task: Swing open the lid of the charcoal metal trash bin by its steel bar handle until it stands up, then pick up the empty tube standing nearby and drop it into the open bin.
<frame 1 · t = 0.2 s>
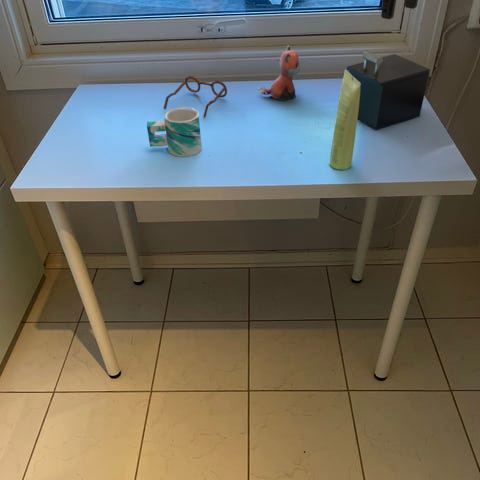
hand: (399, 12, 99), 30 cm above the table, tool pointing down, fingers open, 8 cm apart
glasses: (195, 105, 143), on the table
bin lid: (389, 60, 126), point 13 cm above the table, hinge at 0.0°
stuffed fox: (278, 96, 145), on the table
bin: (381, 114, 135), on the table
mug: (176, 149, 125), on the table
tube: (340, 166, 117), on the table
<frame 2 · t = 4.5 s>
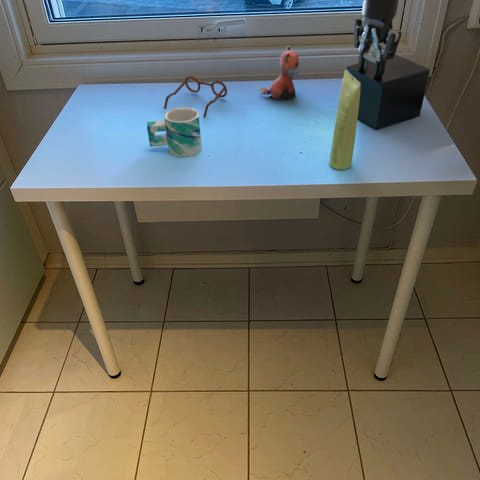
hand: (370, 72, 125), 12 cm above the table, tool pointing down, fingers closed on bin lid, 5 cm apart
bin lid: (389, 60, 126), point 13 cm above the table, hinge at -0.2°, touching bin, gripper
everything else where it was.
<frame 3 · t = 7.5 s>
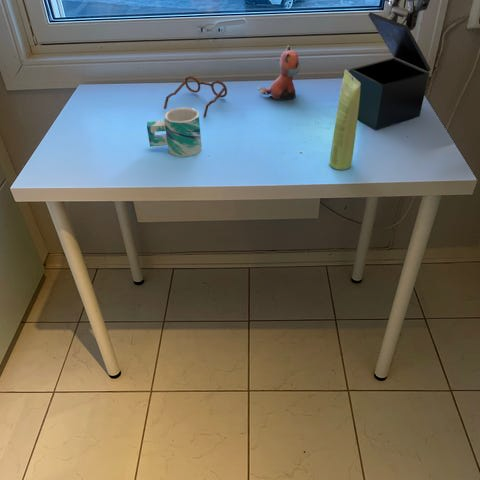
hand: (400, 26, 121), 20 cm above the table, tool pointing down, fingers closed on bin lid, 5 cm apart
bin lid: (406, 34, 123), point 18 cm above the table, hinge at 47.0°, touching gripper
everything else where it was.
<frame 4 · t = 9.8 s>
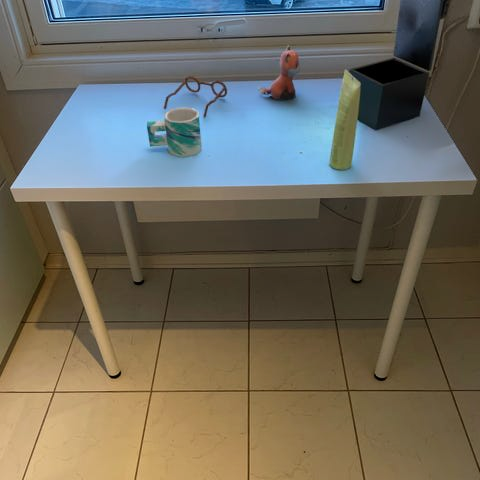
hand: (431, 15, 124), 21 cm above the table, tool pointing down, fingers closed on bin lid, 5 cm apart
bin lid: (423, 27, 125), point 19 cm above the table, hinge at 85.9°, touching gripper
everything else where it was.
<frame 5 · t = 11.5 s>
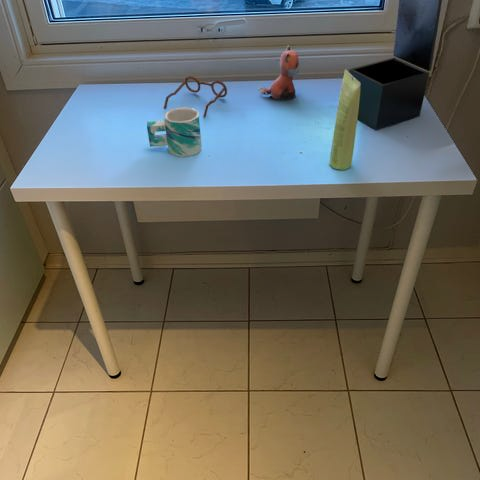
bin lid: (422, 27, 125), point 19 cm above the table, hinge at 84.1°
everything else where it was.
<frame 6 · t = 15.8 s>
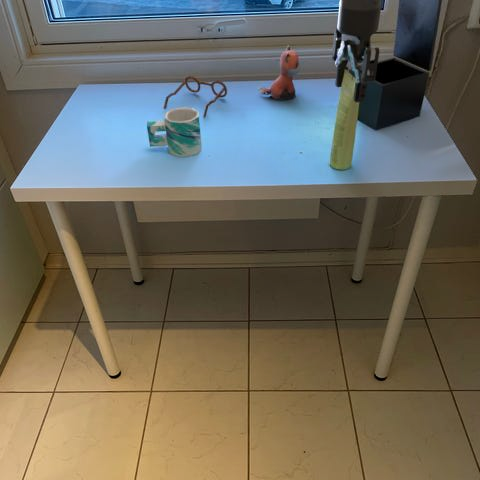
hand: (349, 93, 106), 16 cm above the table, tool pointing down, fingers closed on tube, 7 cm apart
tube: (340, 166, 117), on the table, touching gripper
everything else where it was.
when the fingers open (24 cm above the table, at t = 23.6 s): tube drops 7 cm, resting on bin.
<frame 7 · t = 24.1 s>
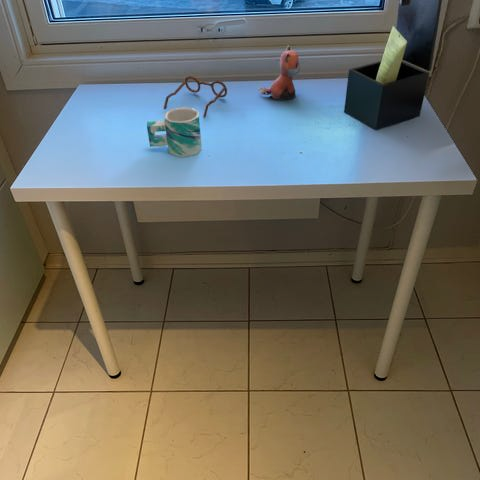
tube: (376, 112, 134), point 1 cm above the table, touching bin
everything else where it was.
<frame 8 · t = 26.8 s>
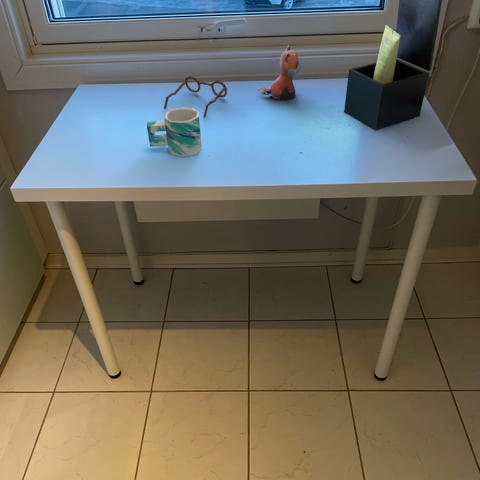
at the end: bin lid at +84° (first picture: +0°); tube inside the target area in the bin (2.1 cm from its centre), point 0.6 cm above the bin's base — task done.
